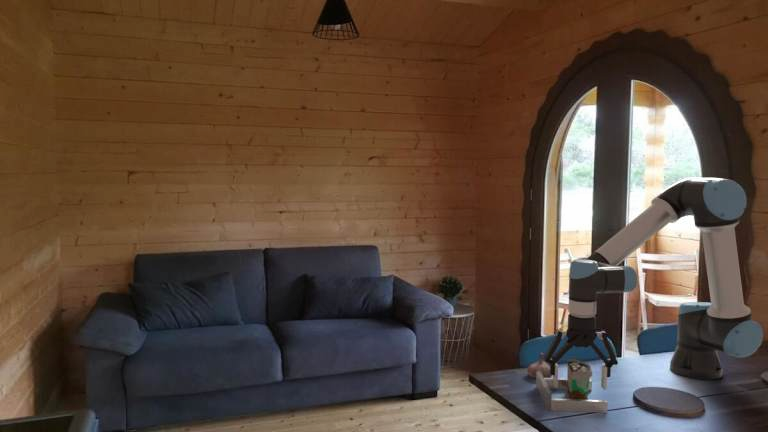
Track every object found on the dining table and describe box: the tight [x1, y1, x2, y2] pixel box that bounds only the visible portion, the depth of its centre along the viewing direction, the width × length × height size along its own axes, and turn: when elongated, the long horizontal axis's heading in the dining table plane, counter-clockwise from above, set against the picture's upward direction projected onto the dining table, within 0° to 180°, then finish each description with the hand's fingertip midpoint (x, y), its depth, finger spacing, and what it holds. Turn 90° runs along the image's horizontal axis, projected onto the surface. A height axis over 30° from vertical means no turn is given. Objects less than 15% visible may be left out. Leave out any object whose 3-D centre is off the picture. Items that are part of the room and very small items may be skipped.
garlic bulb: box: [527, 352, 553, 379], centre depth 190 cm, size 8×7×8 cm
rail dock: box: [535, 371, 609, 414], centre depth 171 cm, size 16×17×5 cm
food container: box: [566, 358, 593, 400], centre depth 171 cm, size 12×6×10 cm, turn 169°
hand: (579, 387), depth 171 cm, fingers open, 13 cm apart
